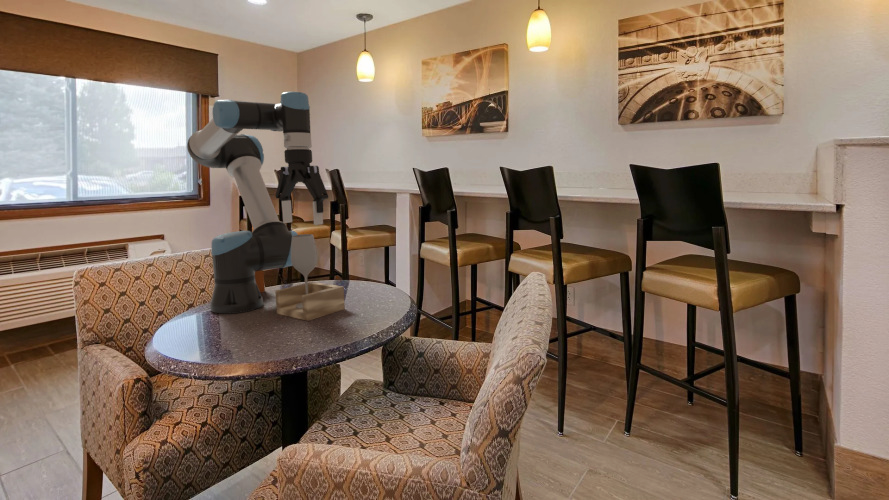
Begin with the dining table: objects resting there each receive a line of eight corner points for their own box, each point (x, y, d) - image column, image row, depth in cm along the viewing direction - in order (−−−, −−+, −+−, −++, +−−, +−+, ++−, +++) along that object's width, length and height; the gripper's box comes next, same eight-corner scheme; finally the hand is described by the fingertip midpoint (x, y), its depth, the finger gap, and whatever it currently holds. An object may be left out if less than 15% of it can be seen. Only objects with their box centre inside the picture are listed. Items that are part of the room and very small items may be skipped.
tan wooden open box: (276, 313, 148) (275, 290, 147) (313, 303, 160) (312, 281, 159) (308, 320, 140) (306, 296, 139) (344, 309, 152) (343, 286, 151)
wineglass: (290, 308, 146) (284, 237, 143) (302, 302, 153) (297, 234, 150) (314, 309, 145) (308, 237, 141) (325, 302, 152) (320, 233, 149)
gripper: (259, 150, 146) (265, 223, 149) (317, 146, 132) (321, 226, 135) (281, 151, 152) (286, 220, 155) (338, 147, 138) (342, 224, 141)
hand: (302, 223), depth 145 cm, fingers open, 13 cm apart
